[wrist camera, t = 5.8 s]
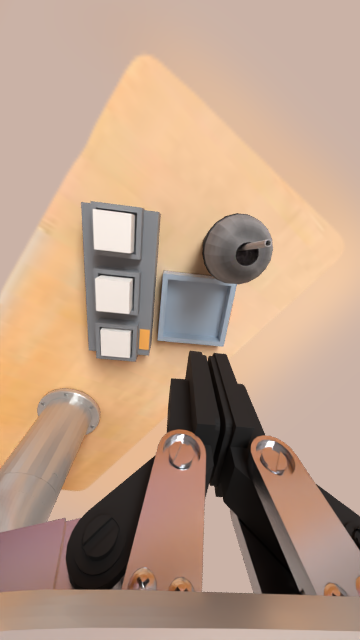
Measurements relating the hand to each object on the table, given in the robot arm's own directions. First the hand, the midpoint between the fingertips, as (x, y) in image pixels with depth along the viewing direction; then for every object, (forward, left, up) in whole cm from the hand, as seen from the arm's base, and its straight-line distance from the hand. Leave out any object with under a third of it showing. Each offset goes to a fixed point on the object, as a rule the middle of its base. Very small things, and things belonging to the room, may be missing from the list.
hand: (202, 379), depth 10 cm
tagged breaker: (-11, +9, -23) cm, 27 cm away
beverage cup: (+5, -5, -28) cm, 29 cm away
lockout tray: (-6, -3, -28) cm, 28 cm away
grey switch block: (-3, +9, -28) cm, 29 cm away
